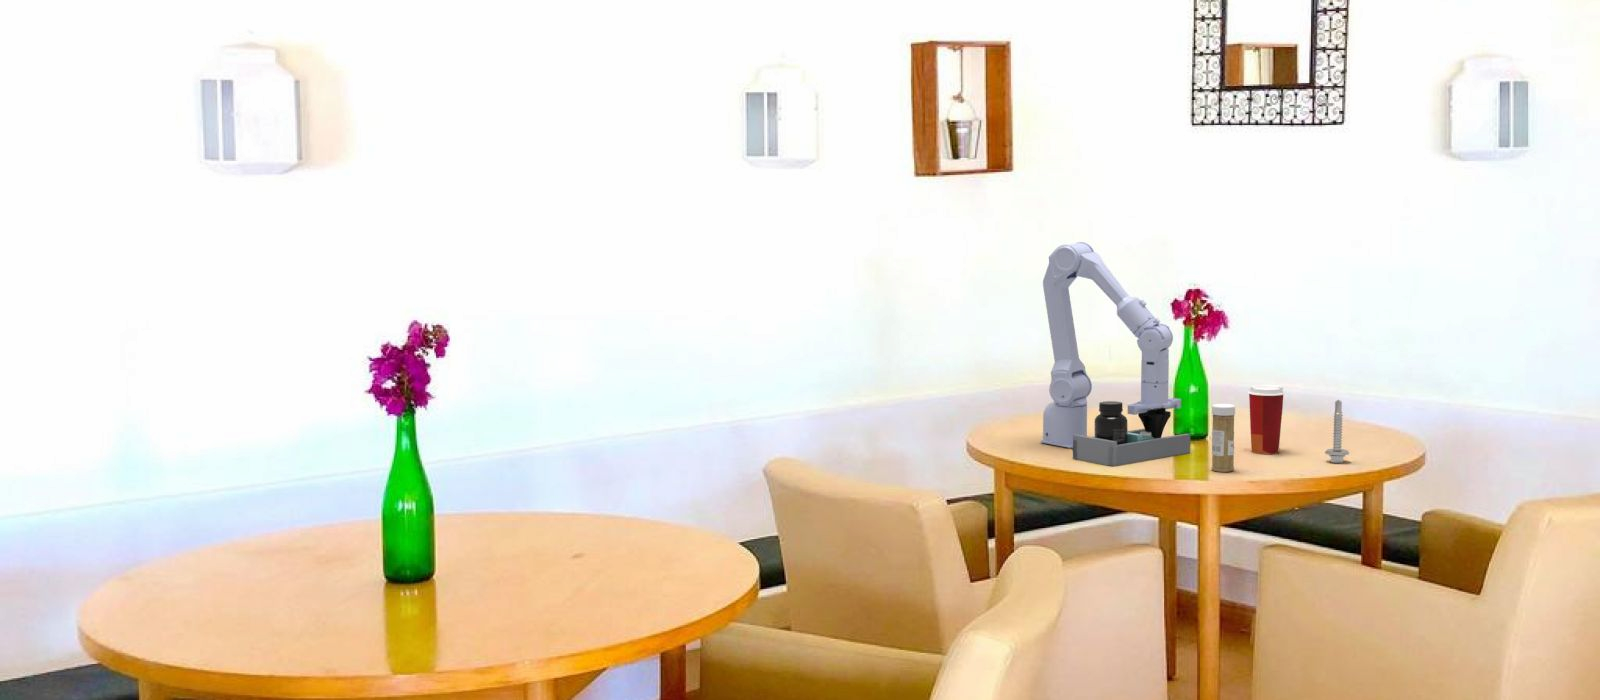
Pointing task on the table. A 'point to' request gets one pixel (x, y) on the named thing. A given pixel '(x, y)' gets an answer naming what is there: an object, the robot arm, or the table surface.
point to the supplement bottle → (1111, 422)
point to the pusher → (1139, 436)
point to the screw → (1337, 436)
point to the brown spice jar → (1223, 437)
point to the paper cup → (1265, 417)
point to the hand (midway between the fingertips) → (1153, 444)
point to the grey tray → (1128, 449)
